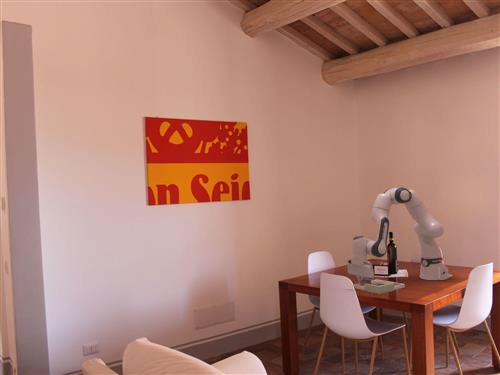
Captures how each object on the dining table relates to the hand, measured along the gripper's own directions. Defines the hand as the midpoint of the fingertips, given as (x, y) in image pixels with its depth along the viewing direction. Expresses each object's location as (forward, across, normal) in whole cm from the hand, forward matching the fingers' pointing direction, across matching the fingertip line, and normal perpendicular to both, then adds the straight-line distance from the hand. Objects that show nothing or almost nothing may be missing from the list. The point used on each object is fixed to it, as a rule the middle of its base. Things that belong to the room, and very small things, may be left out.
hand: (361, 282), depth 298 cm
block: (+1, -4, 0) cm, 4 cm away
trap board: (+3, -8, -7) cm, 11 cm away
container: (+3, +13, -18) cm, 22 cm away
